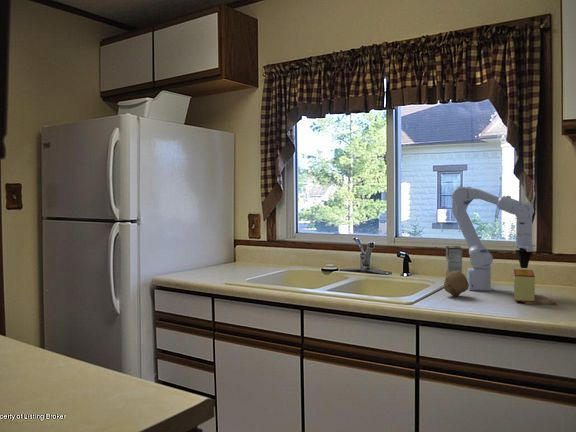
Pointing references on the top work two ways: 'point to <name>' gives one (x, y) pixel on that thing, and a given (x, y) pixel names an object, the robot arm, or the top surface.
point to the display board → (541, 300)
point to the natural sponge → (455, 283)
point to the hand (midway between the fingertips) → (523, 267)
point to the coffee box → (453, 259)
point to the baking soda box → (524, 285)
